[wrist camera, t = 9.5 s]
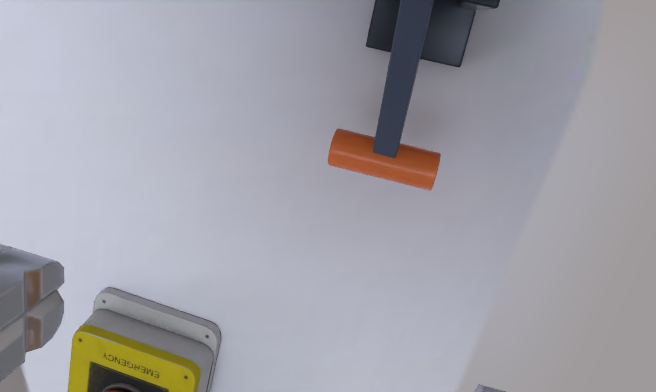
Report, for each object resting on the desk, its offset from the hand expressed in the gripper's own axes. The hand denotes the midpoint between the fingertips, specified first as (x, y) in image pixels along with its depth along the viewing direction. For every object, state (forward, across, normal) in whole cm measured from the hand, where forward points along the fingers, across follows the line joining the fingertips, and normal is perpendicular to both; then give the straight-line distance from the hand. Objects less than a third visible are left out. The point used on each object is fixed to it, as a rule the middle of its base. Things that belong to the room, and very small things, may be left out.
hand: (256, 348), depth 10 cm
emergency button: (+22, +12, +24) cm, 34 cm away
